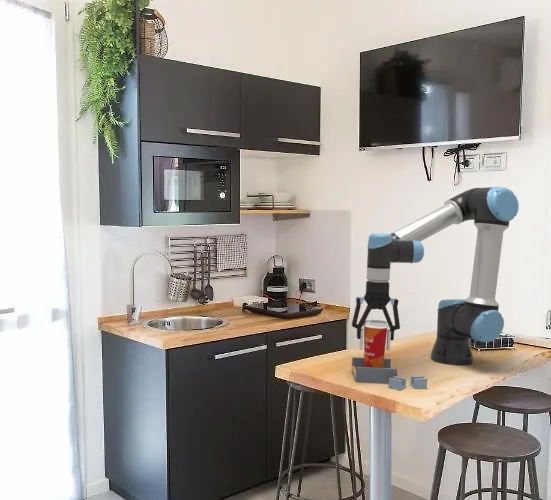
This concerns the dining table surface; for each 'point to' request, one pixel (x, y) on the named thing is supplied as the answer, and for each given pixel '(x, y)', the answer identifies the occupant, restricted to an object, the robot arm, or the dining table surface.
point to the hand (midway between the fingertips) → (374, 349)
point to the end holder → (372, 372)
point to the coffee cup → (374, 342)
